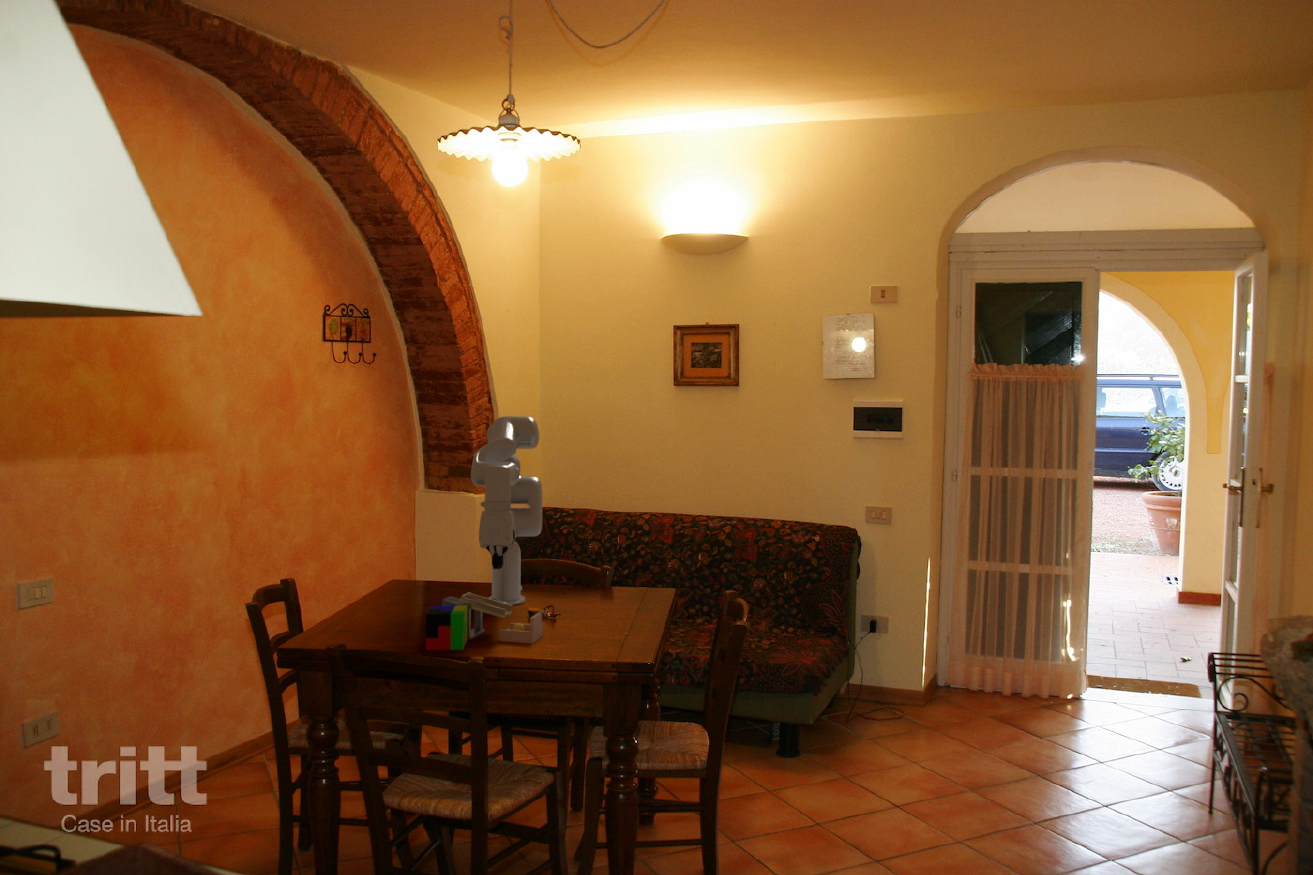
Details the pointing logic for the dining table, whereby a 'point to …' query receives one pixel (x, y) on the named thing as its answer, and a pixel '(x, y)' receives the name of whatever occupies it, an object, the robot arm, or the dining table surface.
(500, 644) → the dining table surface
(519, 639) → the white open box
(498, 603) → the lever
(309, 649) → the dining table surface
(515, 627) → the ball
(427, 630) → the puzzle toy
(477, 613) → the stand
